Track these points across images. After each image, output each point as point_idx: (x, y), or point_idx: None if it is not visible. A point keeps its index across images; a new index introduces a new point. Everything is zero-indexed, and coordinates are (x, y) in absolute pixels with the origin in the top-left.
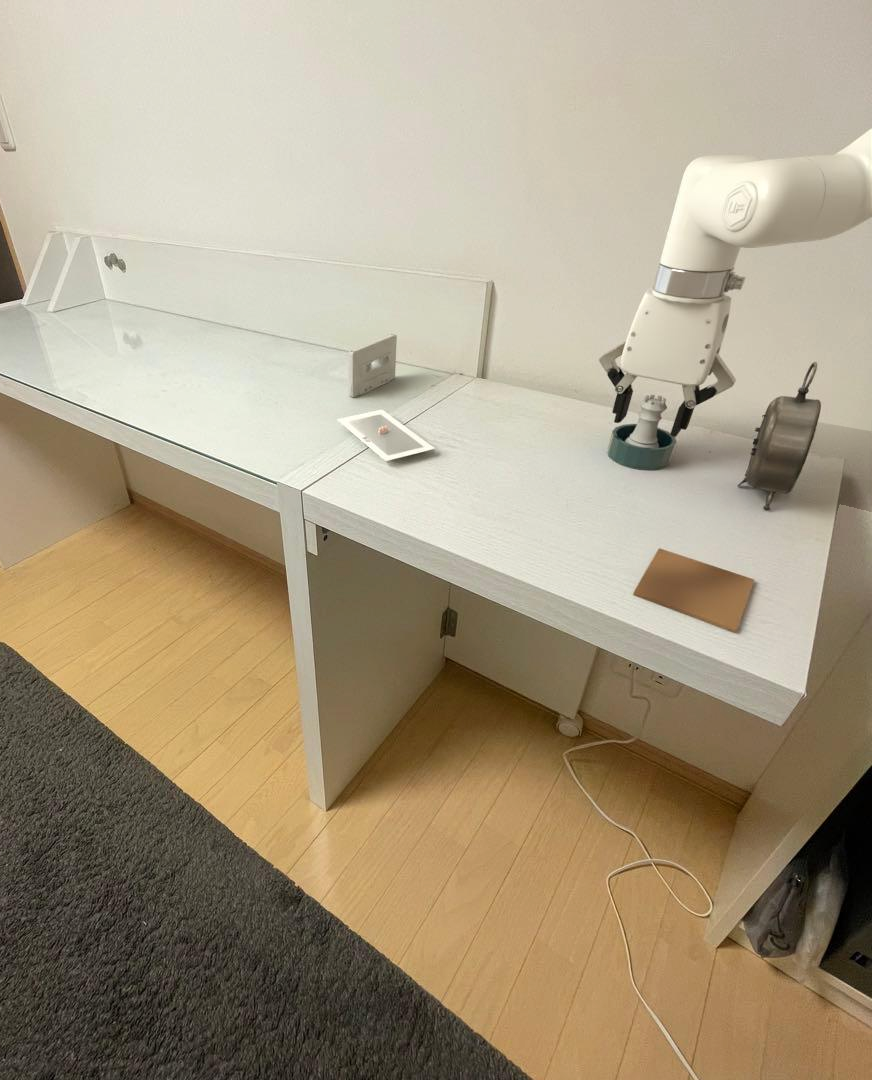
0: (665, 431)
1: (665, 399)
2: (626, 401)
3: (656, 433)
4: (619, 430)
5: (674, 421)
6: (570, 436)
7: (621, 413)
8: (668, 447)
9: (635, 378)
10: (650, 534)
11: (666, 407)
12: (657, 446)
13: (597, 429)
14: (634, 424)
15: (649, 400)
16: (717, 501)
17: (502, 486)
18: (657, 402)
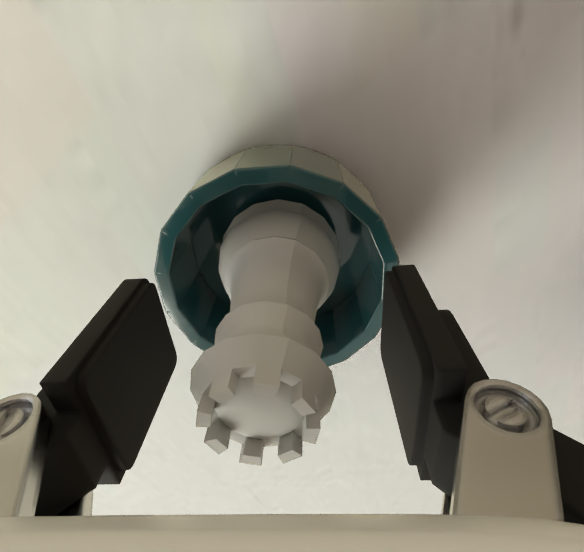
0: (332, 187)
1: (311, 410)
2: (136, 424)
3: (316, 288)
4: (173, 265)
5: (393, 401)
6: (42, 242)
7: (160, 394)
8: (381, 321)
9: (38, 491)
10: (410, 501)
11: (331, 385)
12: (335, 276)
13: (53, 115)
14: (193, 203)
15: (243, 460)
16: (531, 357)
17: (135, 503)
18: (288, 459)
